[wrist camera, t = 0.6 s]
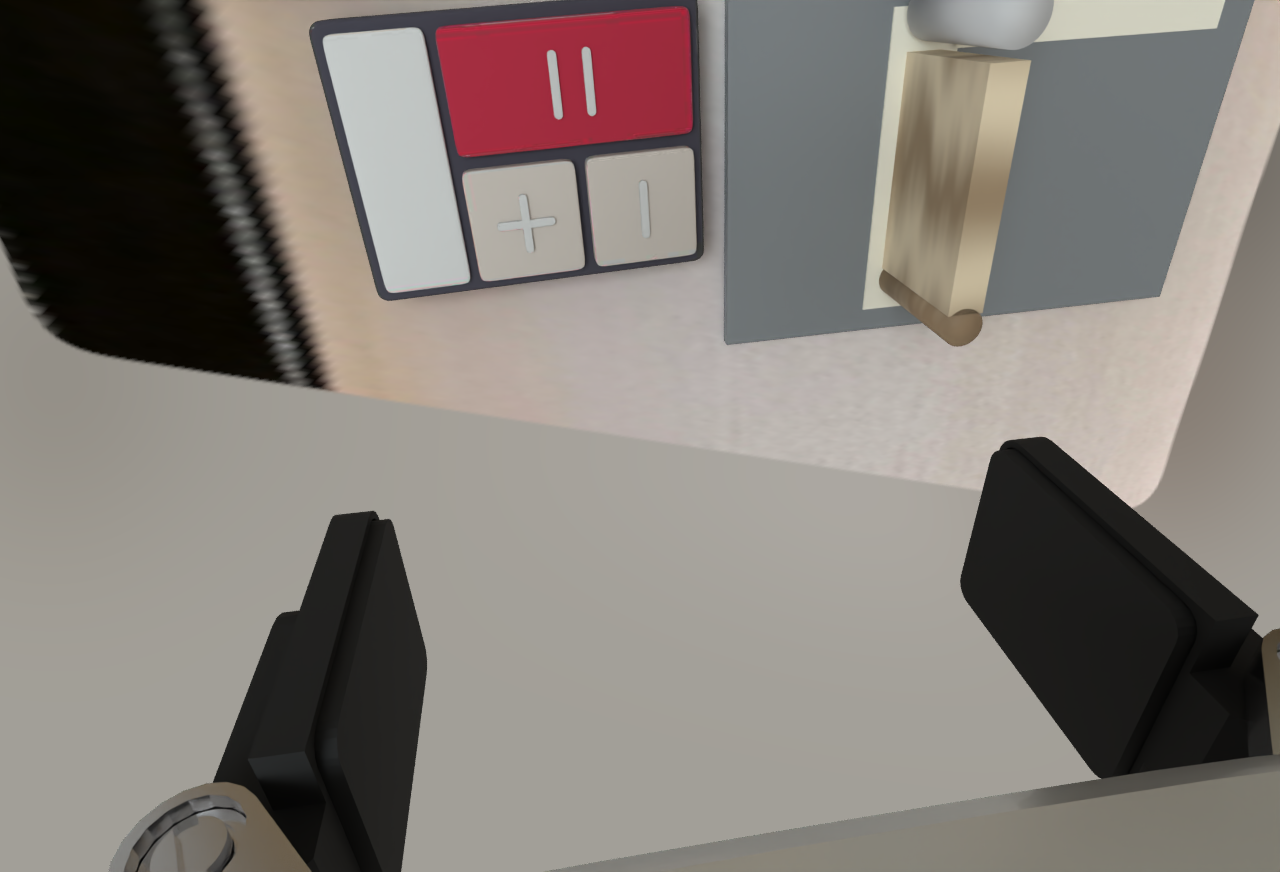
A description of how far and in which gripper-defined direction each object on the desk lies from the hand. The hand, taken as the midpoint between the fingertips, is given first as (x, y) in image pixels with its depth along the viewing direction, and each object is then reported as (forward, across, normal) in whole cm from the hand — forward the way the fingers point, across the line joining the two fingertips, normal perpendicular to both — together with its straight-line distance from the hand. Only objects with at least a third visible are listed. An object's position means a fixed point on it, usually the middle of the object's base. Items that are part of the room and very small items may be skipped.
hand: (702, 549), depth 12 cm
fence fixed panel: (+27, -16, +1) cm, 31 cm away
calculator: (+28, +2, -2) cm, 28 cm away
